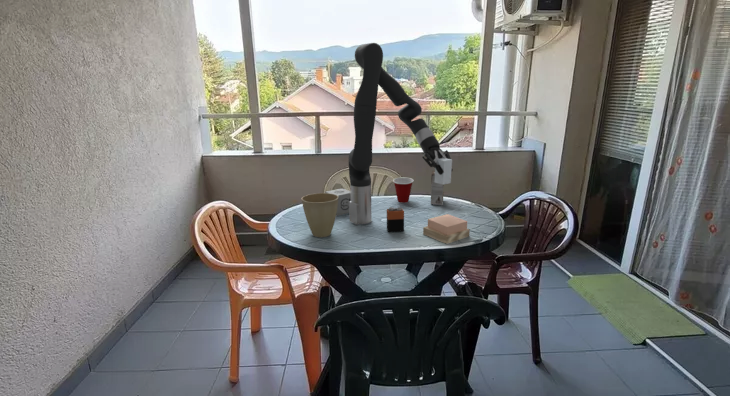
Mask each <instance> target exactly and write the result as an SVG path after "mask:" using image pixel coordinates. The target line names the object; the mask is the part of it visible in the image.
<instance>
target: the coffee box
mask: <svg viewBox="0 0 730 396" xmlns="http://www.w3.org/2000/svg"><path fill="white" fill-rule="evenodd" d="M434 181H435V170H432V171H431V181H430V182H431V185H430V205H431V204H433V205H434V206H435V205H437V206H443V204H444V193H445V188H444V187H445V184H439V183H435V182H434Z"/></svg>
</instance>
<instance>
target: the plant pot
mask: <svg viewBox="0 0 730 396" xmlns="http://www.w3.org/2000/svg"><path fill="white" fill-rule="evenodd" d="M301 204H302V208H303V212H304V213H303V214H304V216H305V219H306V221H307V224H308V227H309V229H310V232H311V234H312V236H313V237H315V238H327V237H329V236H331V234H332V231H333V228H334V225H335V222H336V217H337V216H336V213H337V207H338V196H337V195H335V194H331V193H325V192H318V193H317V192H315V193H309V194H307V195H304V196H302V197H301Z"/></svg>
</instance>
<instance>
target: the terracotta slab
mask: <svg viewBox="0 0 730 396" xmlns="http://www.w3.org/2000/svg"><path fill="white" fill-rule="evenodd" d="M427 226H428V228H431V229H433V230H435V231H438V232H440V233H442V234H445V235H450V234H454V233H457V232H460V231H464V230H467V229H468V220H465V219H462V218H459V217H457V216H454V215H452V214H449V213H446V214H443V215H438V216H435V217H431V218H428V219H427Z"/></svg>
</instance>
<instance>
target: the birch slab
mask: <svg viewBox="0 0 730 396" xmlns="http://www.w3.org/2000/svg"><path fill="white" fill-rule="evenodd" d="M422 229H423V230H422V232H423V233H422V234H423V235H424V236H427V237H429V238H432V239H434V240H436V241H439V242H441V243H443V244H445V243H446V245H447V244H448V245H449V244H451V243H455V242H457V241H460V240H463V239H465V238H468V237H470V231H471V230H470V229H469V228H467V230H464V231H460V232H457V233H454V234H450V235H445V234H442V233H440V232H438V231H435V230H433V229H431V228H428V225H427V226H423V228H422Z"/></svg>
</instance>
